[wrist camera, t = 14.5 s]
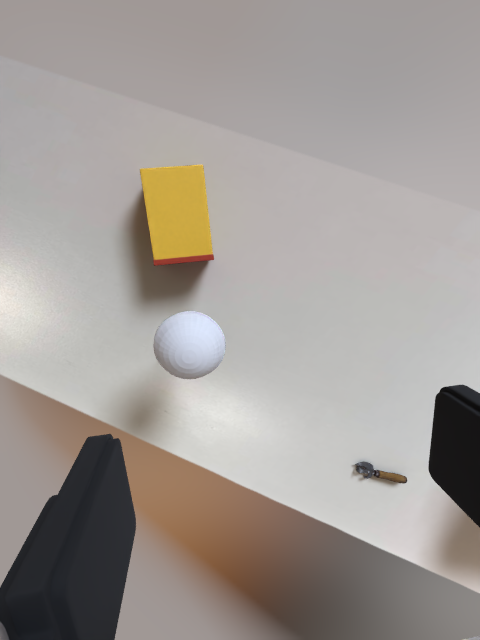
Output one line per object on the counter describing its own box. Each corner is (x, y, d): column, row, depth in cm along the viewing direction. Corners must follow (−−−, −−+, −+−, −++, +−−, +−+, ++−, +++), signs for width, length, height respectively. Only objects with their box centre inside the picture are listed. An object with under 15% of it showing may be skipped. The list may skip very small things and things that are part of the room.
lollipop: (222, 295, 40) (236, 330, 25) (211, 340, 41) (218, 397, 27) (172, 283, 39) (156, 312, 24) (162, 329, 40) (141, 383, 25)
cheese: (146, 178, 35) (138, 168, 30) (202, 174, 36) (203, 164, 31) (159, 262, 38) (153, 265, 33) (211, 257, 38) (213, 259, 33)
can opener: (404, 474, 50) (409, 479, 49) (396, 486, 51) (401, 492, 50) (356, 457, 48) (360, 462, 47) (349, 470, 49) (352, 475, 48)
